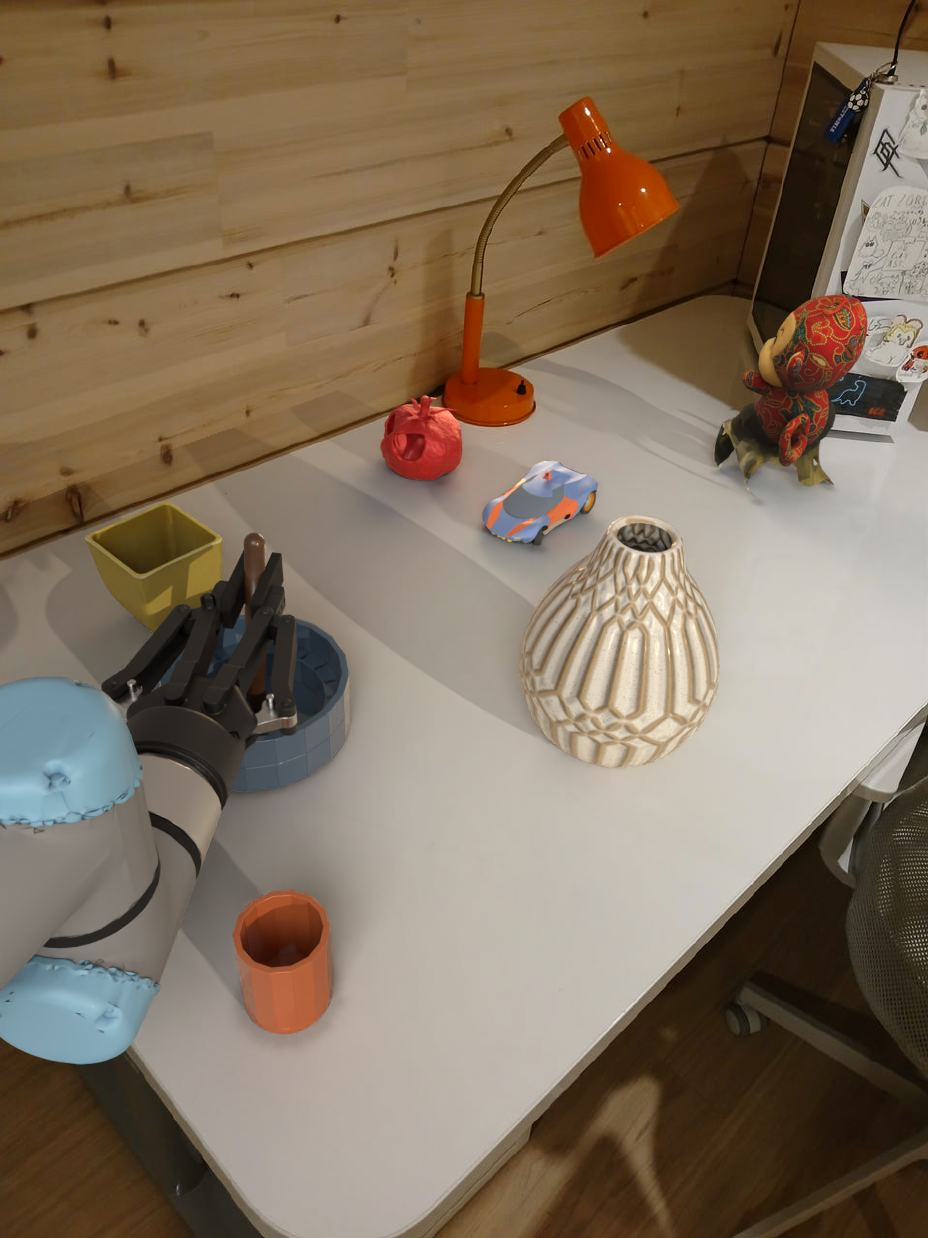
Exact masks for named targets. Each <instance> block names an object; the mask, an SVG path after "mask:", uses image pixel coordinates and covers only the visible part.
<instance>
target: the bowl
mask: <svg viewBox="0 0 928 1238" xmlns="http://www.w3.org/2000/svg"><path fill="white" fill-rule="evenodd" d="M283 615H284V614H282V616H283ZM295 619H296V631H297V655H296V664H295V674H294V683H293V693H292V694H293V696H294V699H295V701H296V711H297V726H298V730H297V732H296V733H295V734H294V735H291V736H285V735H283V734H281V733H280V731H279V729H276V730H273V731H269V732H265V733H261V734H259V736H258V739H257V741H256V742H255V744H254V745H252V746H251V747H250V748H249V749H248V750H247V751H246V752H245V753H244V755H243V758H242V761H241V764H240V767H239V770H238V773H237V775H236V778H235V781H234V783H233V786H232V789H231V791H230V792H241V793H254V792H261V791H268V790H269V791H270V790H278V789H281V788H283V787H286V786H289V785H291V784H293V783H296V782H299V781H301V780H304V779H307V778H308V777H310V776H312V775H313V774H314V773H316V772H317V771H319V770H320V769H322V768H323V767H324V766H325V765H327V764H328V763H330V761H332V760H333V759H334V757H335V755H337V753H338V751H339V750H340V749H341V748H342V746H343V745H344V743H345V742H346V739H347V735H348V732H349V727H350V724H351V686H350V685H351V684H350V670H349V664H348V660H347V659H348V658H347V655H346V652H345V651H344V649H343V648H342V647H341V646H340V644H339V642H338V641H336V639H335V637H333V635H331V634H329V632H327V631H325V630H324V629H323V628H321V627H319V626H318V625H316V624H314V623H312V622H309V621H306V620H302V619H300V618H296V617H295ZM244 633H245V614H240V615H239V617H238V619H237V622H236V624H235V626H234V628H233V629H227V628H223V623H222V625H221V634H220V637H219V640H218V643H217V646H216V649H215V652H214V655H213V658H212V660H211V663H210V666H209V669H208V672H207V675H206V678H215V677H216V676H217V674H218V672H219V670H220V668H221V667H222V665H223V664H227V663H228V661H229V659H230V658H231V656H232V654H233V652H234V651H235V649H236V647H237V645H238V643H239V642H240V640H241V638H242V636H243V634H244ZM184 650H185V649H184ZM184 650H183V651H182V653H181V654H180V655H179V657H178V658H177V659H176V660H175V662H174V663H173V664H172V666H171V667H170V668H169V670H168V671H167V672H166V673H165V675H164V676H163V677H162V679H161V680H160V681H159V683H158V684H157V685H156V686H155V688H154V689H153V690H152V691H154V690H156V689H157V688H159V687H161V686H163V685H164V684H166V683H168V682H169V681H170V679H171V676H172V673H173V671H174V668H175V665H176V663H177V661H178V660H181V658H182V655H183V652H184ZM274 652H275V646H274V644H272V646H271V647H270V649H269V651H268V653H267V655H266V694H267V695H268V694H271V674H272V667H273V659H274Z"/></svg>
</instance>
